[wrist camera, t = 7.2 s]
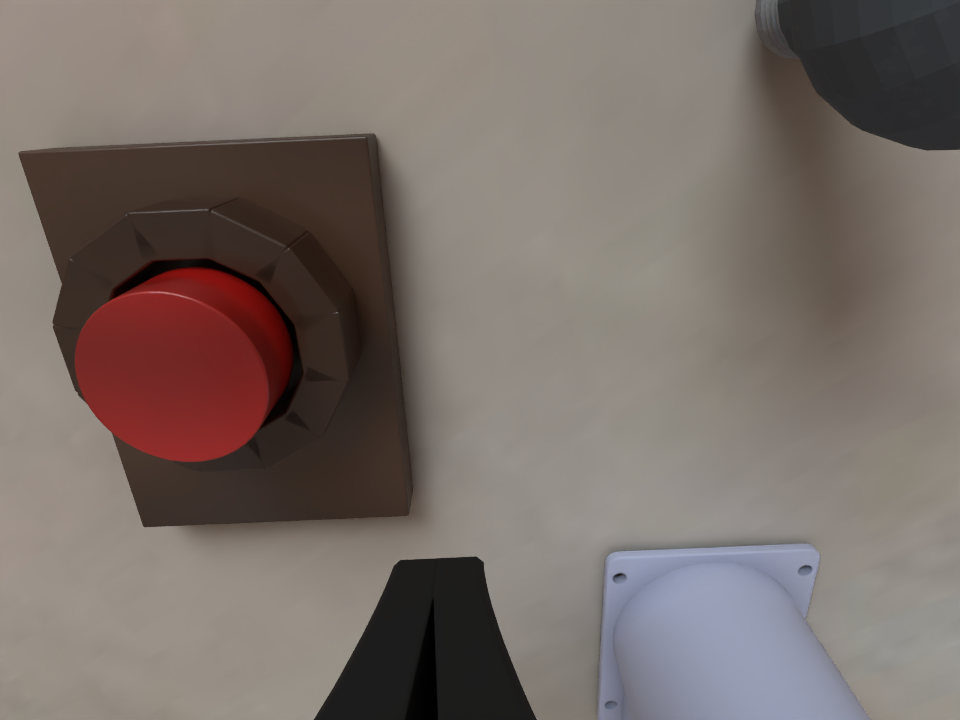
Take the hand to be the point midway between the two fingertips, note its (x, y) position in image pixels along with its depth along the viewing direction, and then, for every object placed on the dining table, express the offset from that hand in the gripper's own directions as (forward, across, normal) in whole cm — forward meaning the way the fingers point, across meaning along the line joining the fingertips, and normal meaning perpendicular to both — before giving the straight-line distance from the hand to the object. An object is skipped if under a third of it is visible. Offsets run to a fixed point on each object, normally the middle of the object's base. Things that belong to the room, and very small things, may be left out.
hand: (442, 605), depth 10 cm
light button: (+7, +6, -2) cm, 10 cm away
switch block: (+10, +6, -1) cm, 12 cm away
